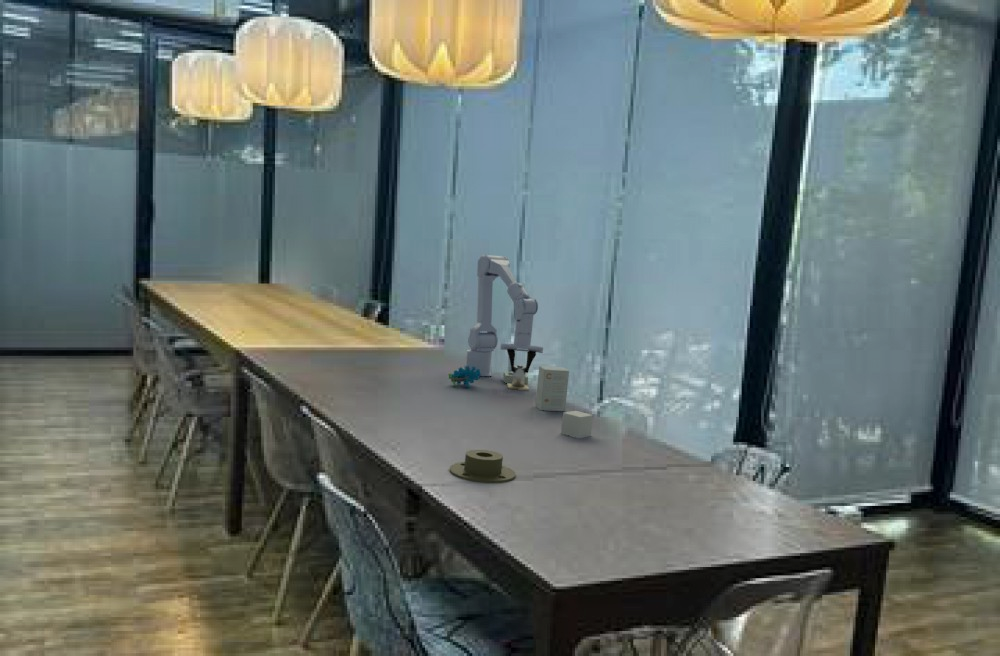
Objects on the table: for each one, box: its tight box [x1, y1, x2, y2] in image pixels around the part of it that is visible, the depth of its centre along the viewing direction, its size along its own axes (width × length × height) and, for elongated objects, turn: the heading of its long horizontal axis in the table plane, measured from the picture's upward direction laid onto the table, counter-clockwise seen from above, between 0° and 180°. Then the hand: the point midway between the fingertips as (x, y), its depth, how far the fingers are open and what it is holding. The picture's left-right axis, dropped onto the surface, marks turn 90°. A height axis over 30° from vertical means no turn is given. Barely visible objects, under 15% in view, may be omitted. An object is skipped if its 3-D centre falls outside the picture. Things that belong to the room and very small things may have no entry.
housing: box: [502, 371, 529, 386], centre depth 324 cm, size 8×8×3 cm
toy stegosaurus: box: [448, 366, 482, 389], centre depth 307 cm, size 11×6×10 cm
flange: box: [449, 449, 517, 484], centre depth 206 cm, size 5×15×15 cm
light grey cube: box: [560, 410, 594, 439], centre depth 253 cm, size 6×6×6 cm
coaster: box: [506, 383, 530, 391], centre depth 315 cm, size 7×7×1 cm
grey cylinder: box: [512, 364, 527, 387], centre depth 315 cm, size 4×4×7 cm
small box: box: [535, 365, 570, 412], centre depth 284 cm, size 8×6×13 cm
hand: (519, 371), depth 314 cm, fingers open, 4 cm apart
